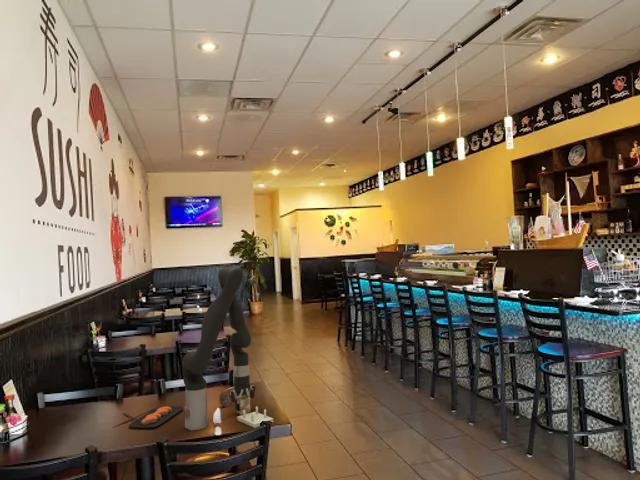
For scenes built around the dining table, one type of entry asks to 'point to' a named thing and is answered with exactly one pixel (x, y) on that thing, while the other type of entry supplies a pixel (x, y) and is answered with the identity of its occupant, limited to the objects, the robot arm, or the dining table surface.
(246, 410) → the maple block
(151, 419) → the sushi plate
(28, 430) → the dining table surface
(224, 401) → the tin
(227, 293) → the robot arm
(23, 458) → the dining table surface
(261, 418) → the plate
